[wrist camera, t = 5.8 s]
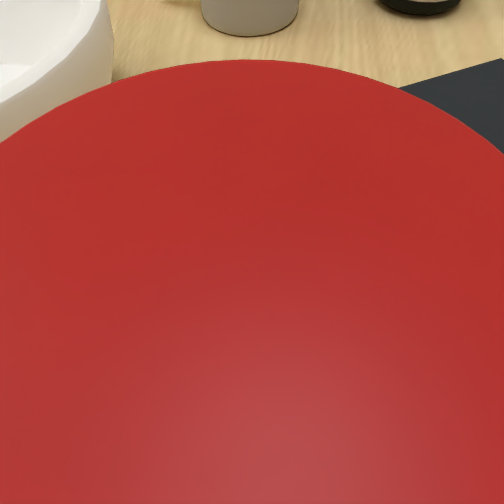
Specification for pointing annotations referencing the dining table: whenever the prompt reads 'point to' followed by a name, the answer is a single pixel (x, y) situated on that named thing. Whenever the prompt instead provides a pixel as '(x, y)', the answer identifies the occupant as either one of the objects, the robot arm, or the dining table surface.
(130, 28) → the dining table surface
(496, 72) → the mat
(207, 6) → the mug
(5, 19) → the bowl
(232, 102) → the cap
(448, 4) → the wine bottle
